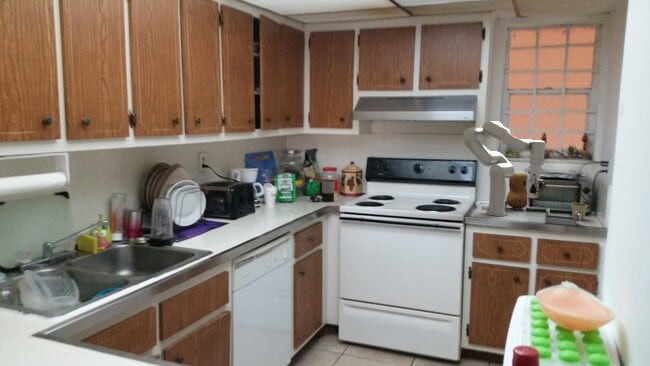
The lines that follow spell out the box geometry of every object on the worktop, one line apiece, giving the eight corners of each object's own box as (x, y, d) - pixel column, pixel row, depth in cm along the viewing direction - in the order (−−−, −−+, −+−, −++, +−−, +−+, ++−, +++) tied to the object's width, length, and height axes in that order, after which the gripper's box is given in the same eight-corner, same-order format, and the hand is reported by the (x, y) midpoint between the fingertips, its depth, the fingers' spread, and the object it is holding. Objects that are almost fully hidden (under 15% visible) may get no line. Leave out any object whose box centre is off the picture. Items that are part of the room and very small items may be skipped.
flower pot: (589, 220, 303) (590, 206, 302) (572, 219, 305) (573, 205, 304) (584, 217, 312) (585, 203, 311) (567, 216, 314) (568, 202, 313)
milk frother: (337, 201, 359) (337, 180, 357) (323, 203, 347) (323, 182, 345) (321, 198, 368) (321, 178, 366) (307, 201, 356) (307, 180, 354)
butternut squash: (501, 207, 342) (503, 170, 339) (518, 207, 346) (520, 170, 343) (515, 211, 329) (518, 172, 326) (532, 210, 333) (535, 172, 330)
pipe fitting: (545, 222, 295) (545, 210, 294) (546, 219, 303) (547, 208, 302) (579, 226, 286) (580, 213, 285) (580, 223, 295) (581, 211, 294)
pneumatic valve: (540, 199, 293) (543, 178, 292) (521, 196, 302) (523, 176, 300) (545, 199, 297) (547, 178, 295) (526, 196, 305) (528, 176, 304)
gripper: (531, 160, 305) (528, 190, 308) (527, 162, 290) (524, 194, 293) (545, 161, 302) (542, 191, 304) (541, 163, 287) (538, 195, 289)
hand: (533, 192), depth 299 cm, fingers closed on pneumatic valve, 6 cm apart
